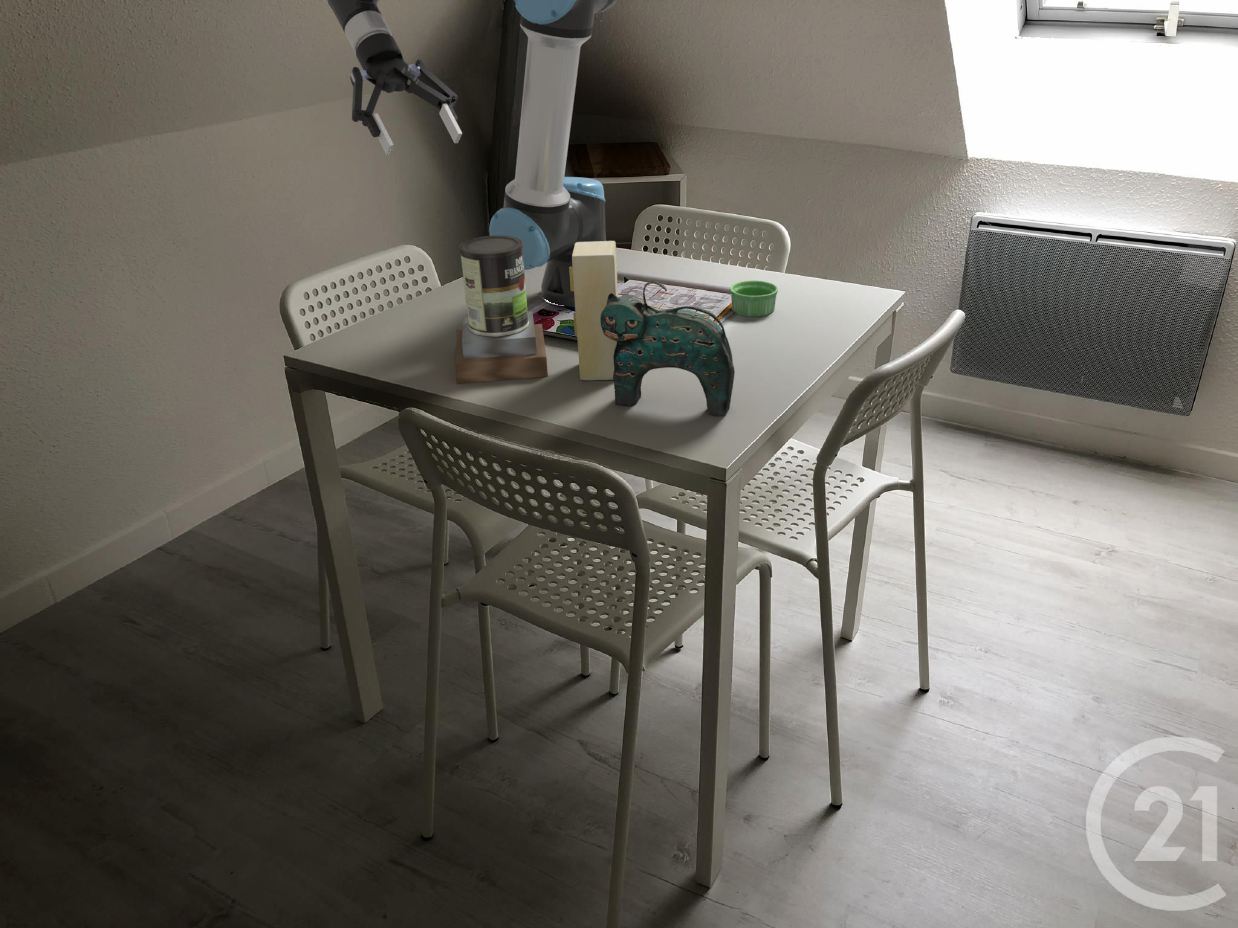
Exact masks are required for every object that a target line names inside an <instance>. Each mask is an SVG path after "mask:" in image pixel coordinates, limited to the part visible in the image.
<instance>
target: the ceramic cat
mask: <svg viewBox="0 0 1238 928" xmlns="http://www.w3.org/2000/svg"><path fill="white" fill-rule="evenodd" d="M649 285H657V286H659V287H660V288H662V289H663V290H664V291H665V292H667V291H668V289H667V287H666V286H665V285H664V284H663V283H661V282H659V281H656V280H650V281H648V282H646V283H645V284H644V285H643V288H642V289H643V290H642V298H640V297H638V296H635V295H632V294H624V295H621V296H618V297H617V296H616V295H614V294H613V293H610V294H609V295H608V299H607V304H606V306H605V308H604V310H603V311H602V313H601V317H600V321H601V327H602V330H603V333H604V335H605V336H607V337H608V338H610V339H612V340H614V341H617V344H616V347H615V351H614V356H613V359H614V373H613V380H612V381H613V387H614V401H615V402H614V405H618V406H624V407H625V406H627V407H633V406H635V405H636V404H637V403H638V402H639V400H640V398H642V385H643V379H644V376H645V375H646V374H648V372H650V371H652V370H656V369H657V370H658V369H665V368H671V369H672V368H675V369H679V370H684V371H687V372H689V373H691V374H693V375H694V376H696V378H697V379H698V381H699V383H700V385H701V387H702V390H703V394H704V397H705V400H706V409H707V414H708V415H711V416H718V417H719V416H720V417H725V416H726V415H727V413H728V411H729V410H730V407H731V401H732V394H733V390H734V389H733V388H734V380H735V366H734V361H733V354H732V349H731V345H730V343H729V339H728V337H727V335H726V330H725V328H724V325H723V323H722V322H721V320H720V319H719V317H718V316H716V314H714V313H713V312H711V311H709V310H706V309H704V308H701V307H696V306H691V305H685V306H684V305H683V306H678V307H675V308H664V309H659V310H658V309H656V308H654V307H652V306H650V305H649V304H648V303H647V299H646V288H647V286H649ZM699 312H700V313H699ZM702 313H703V314H702ZM705 314H706V315H708V316H709V317H708V316H706V315H705ZM710 317H711V318H712V319H713V320H712V319H711V318H710ZM715 321H716V322H717V323H718V324H717V323H716V322H715Z"/></svg>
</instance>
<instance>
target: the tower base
mask: <svg viewBox="0 0 1238 928" xmlns="http://www.w3.org/2000/svg"><path fill="white" fill-rule="evenodd" d="M462 317H463V318H462V329H459V330H456V336H455V337H456V338H455V351H454V372H455V378H456V383H457V384H466V383H478V382H481V383H482V382H492V381H504V380H506V381H507V380H515V379H517V380H518V379H529V378H541V377H543V378H544V377H548V376H549V374H548V361H547V360H548V359H547V351H546V344H545V339H544V329H543V324H542V323H537V324H535V323H534V313H533V311H528V321H529V325H528V327H527V328H526V329H525V330H523V331H521V332H519V333H516V334H512V335H508V336H500V337H487V336H480V335H477V334H474V333H472V332H471V331H470V330H469V323H468V315H466V316H462Z"/></svg>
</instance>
